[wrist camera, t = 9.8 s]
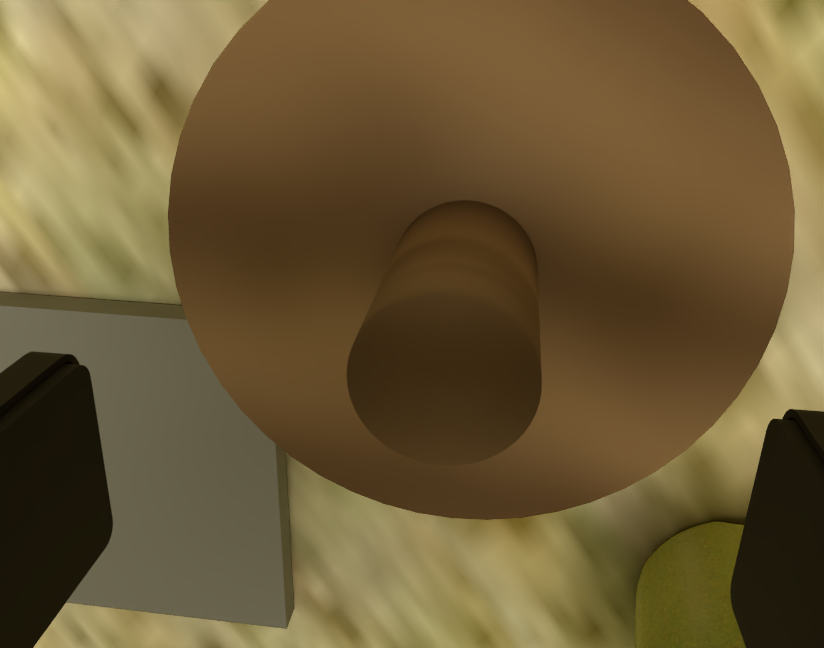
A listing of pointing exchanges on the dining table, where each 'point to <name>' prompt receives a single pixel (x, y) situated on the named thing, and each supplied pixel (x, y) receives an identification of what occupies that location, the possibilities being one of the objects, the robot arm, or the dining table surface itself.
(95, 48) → the dining table surface
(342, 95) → the lid
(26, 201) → the dining table surface
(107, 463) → the mat
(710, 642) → the plant pot
